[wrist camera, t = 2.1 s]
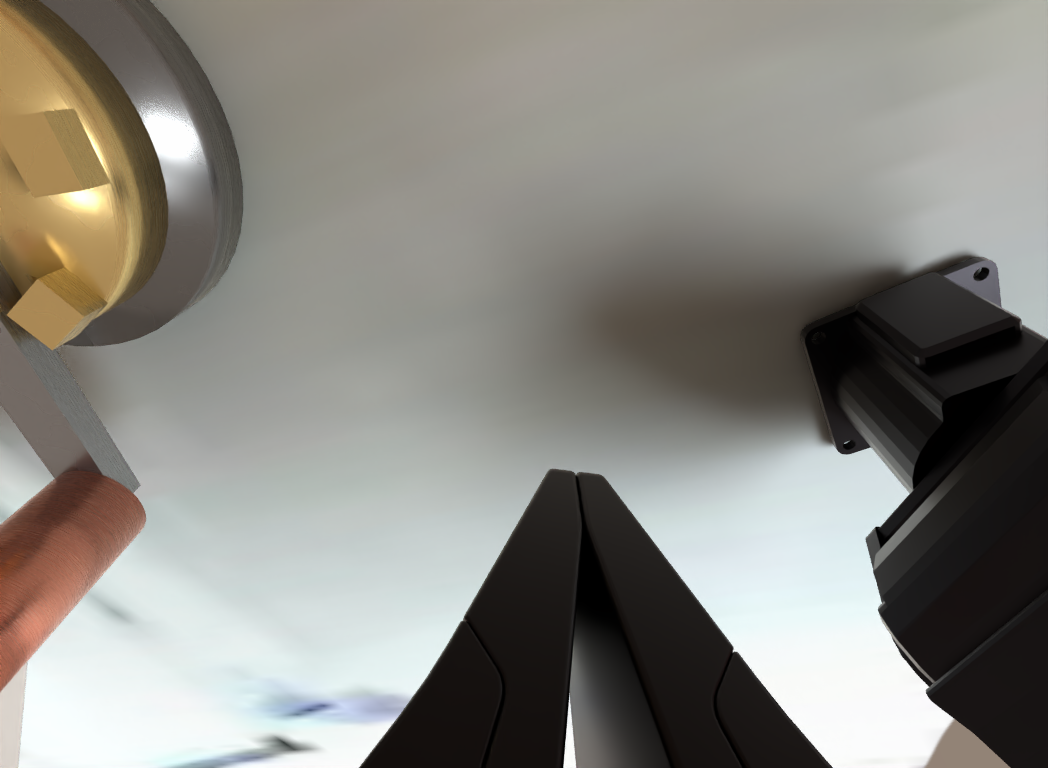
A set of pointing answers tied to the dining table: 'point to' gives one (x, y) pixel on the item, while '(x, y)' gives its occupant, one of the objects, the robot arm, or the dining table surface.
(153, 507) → the dining table surface
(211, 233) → the grey round base plate
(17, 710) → the napkin holder
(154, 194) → the copper and gold mechanism
